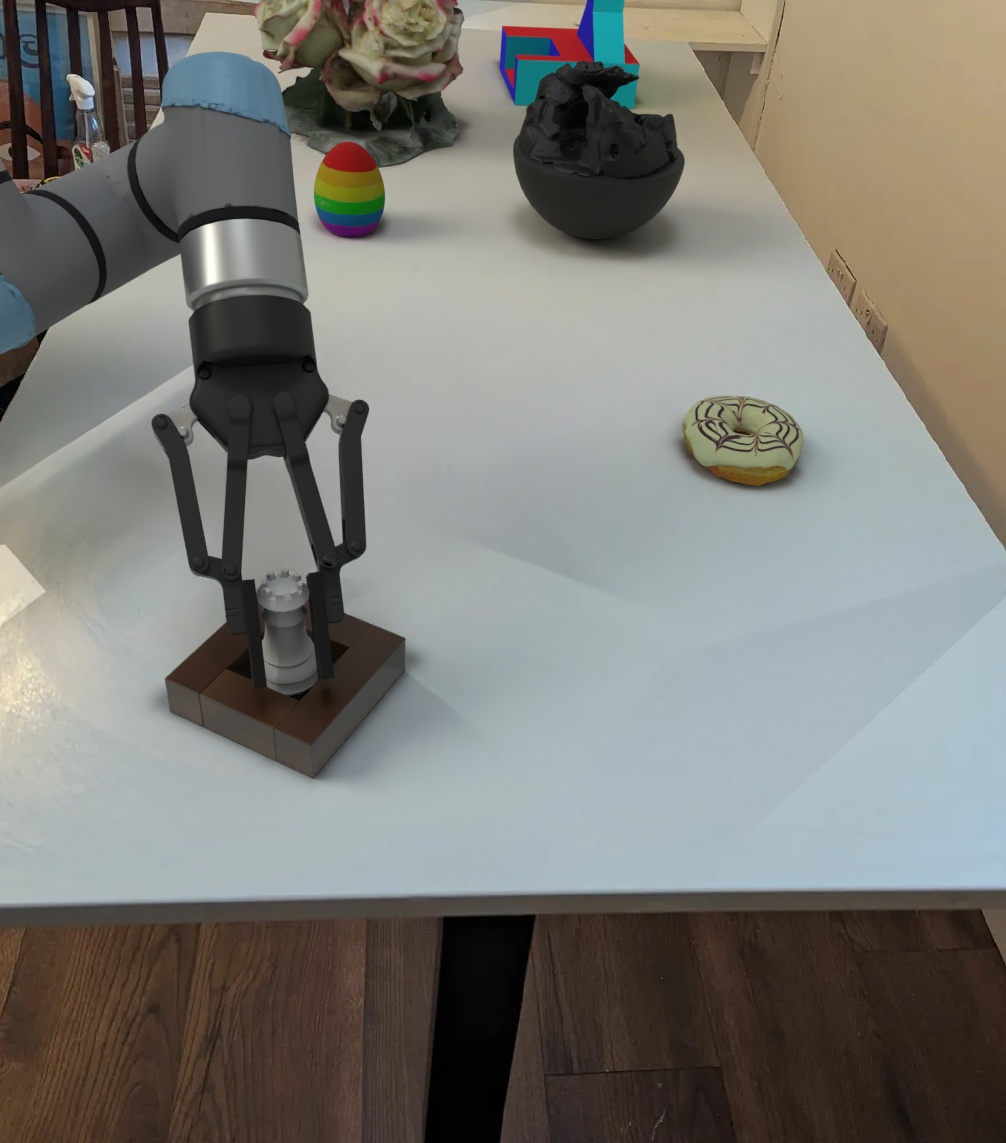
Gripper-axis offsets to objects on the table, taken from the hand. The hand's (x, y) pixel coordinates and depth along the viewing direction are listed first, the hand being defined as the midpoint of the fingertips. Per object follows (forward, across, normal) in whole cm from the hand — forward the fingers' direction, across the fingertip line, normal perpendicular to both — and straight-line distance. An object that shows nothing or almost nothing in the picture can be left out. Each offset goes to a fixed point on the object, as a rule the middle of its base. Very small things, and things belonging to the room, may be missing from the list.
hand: (293, 682), depth 69 cm
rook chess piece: (0, 0, -5) cm, 5 cm away
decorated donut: (-14, -42, -21) cm, 49 cm away
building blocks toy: (-91, -60, -98) cm, 146 cm away
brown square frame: (+1, 0, -6) cm, 6 cm away
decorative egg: (-52, -16, -59) cm, 80 cm away
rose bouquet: (-75, -25, -82) cm, 113 cm away
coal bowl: (-49, -45, -56) cm, 87 cm away
